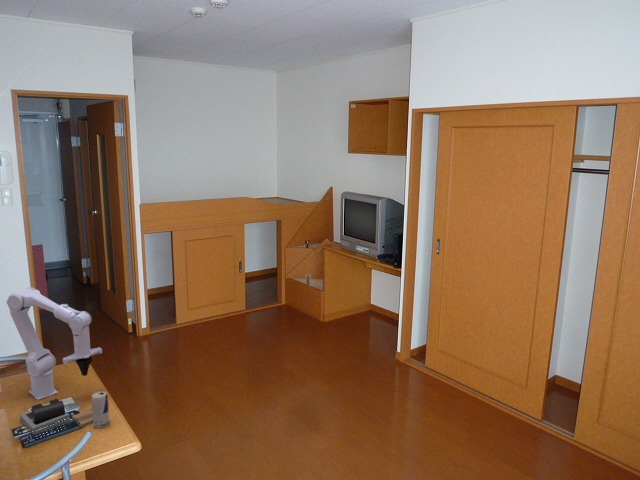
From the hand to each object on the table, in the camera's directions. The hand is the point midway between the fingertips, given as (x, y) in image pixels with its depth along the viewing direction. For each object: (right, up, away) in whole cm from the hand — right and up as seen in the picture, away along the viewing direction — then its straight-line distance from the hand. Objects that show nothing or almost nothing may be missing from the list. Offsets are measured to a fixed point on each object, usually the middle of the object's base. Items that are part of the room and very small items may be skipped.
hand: (84, 374), depth 197 cm
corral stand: (-8, -13, -14) cm, 21 cm away
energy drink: (+13, -14, -15) cm, 25 cm away
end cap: (-7, -14, -14) cm, 21 cm away
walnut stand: (+7, -13, -12) cm, 19 cm away
